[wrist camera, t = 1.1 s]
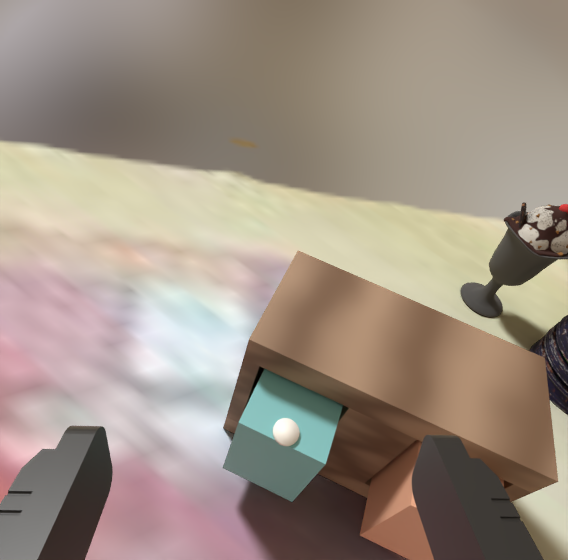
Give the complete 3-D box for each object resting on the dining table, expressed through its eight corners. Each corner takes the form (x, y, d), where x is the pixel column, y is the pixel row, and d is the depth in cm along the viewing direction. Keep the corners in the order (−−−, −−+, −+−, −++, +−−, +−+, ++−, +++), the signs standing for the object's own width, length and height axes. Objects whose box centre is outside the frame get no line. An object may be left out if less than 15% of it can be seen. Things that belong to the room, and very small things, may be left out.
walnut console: (223, 428, 31) (249, 339, 22) (264, 347, 36) (297, 250, 28) (439, 532, 29) (558, 481, 21) (448, 432, 35) (544, 357, 26)
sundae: (521, 321, 46) (633, 218, 35) (472, 326, 44) (576, 217, 33) (488, 276, 50) (580, 172, 39) (443, 278, 48) (527, 168, 37)
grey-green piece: (221, 469, 27) (238, 422, 21) (259, 390, 31) (280, 335, 25) (291, 503, 26) (326, 464, 21) (319, 419, 30) (354, 369, 25)
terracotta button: (359, 536, 26) (412, 505, 20) (378, 447, 30) (426, 401, 25) (433, 573, 25) (507, 551, 20) (442, 477, 30) (505, 437, 24)
